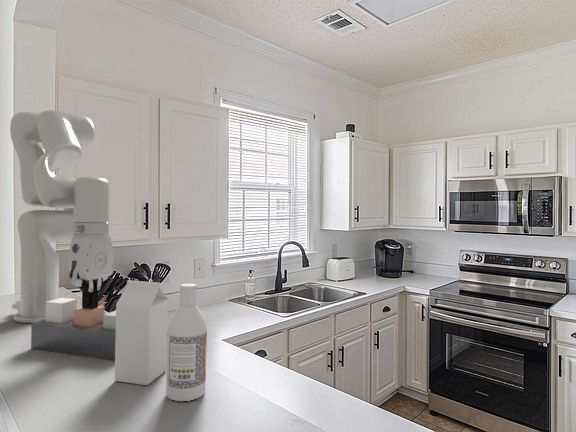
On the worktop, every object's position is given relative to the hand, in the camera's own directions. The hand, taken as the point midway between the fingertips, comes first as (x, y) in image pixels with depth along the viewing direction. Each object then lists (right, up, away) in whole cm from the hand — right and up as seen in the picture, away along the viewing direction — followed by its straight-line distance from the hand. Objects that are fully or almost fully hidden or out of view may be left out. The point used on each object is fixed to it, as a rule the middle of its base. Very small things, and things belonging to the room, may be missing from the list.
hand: (90, 307), depth 94 cm
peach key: (0, -6, 0) cm, 6 cm away
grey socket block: (-1, -10, 0) cm, 10 cm away
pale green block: (+7, -7, -2) cm, 10 cm away
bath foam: (+28, -11, -21) cm, 37 cm away
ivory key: (-8, -5, +2) cm, 10 cm away
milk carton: (+17, -11, -14) cm, 25 cm away
